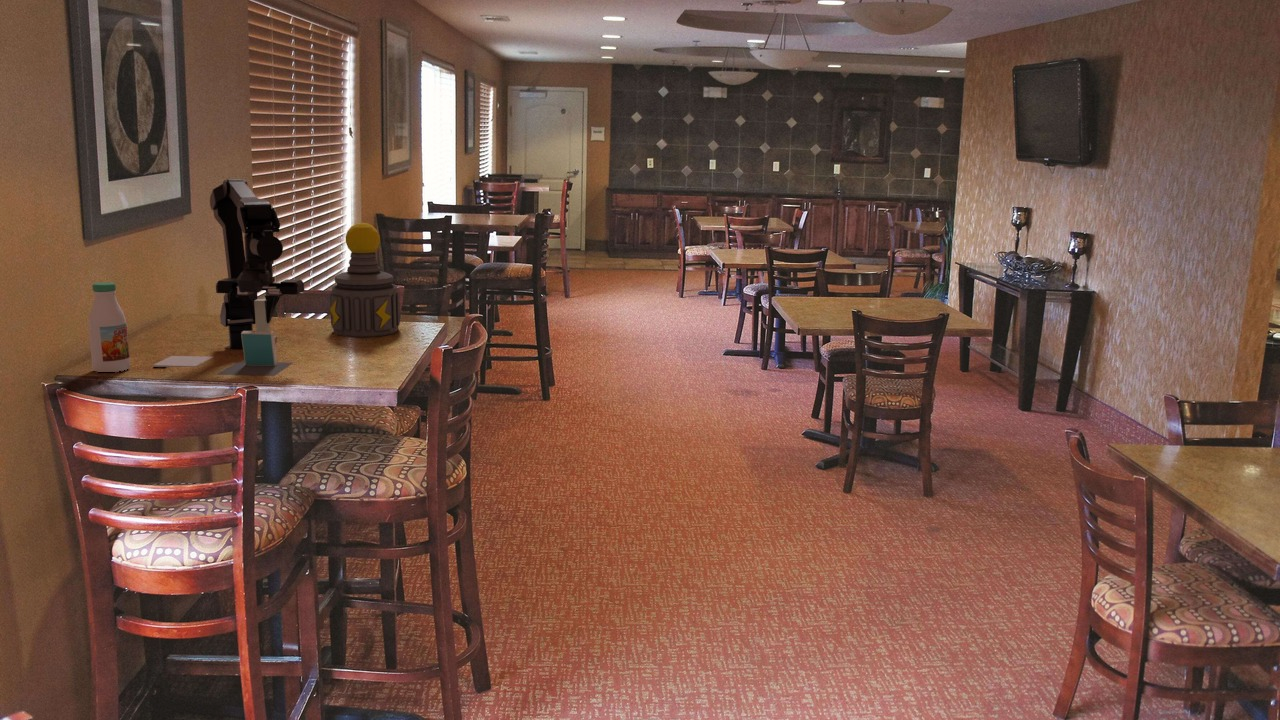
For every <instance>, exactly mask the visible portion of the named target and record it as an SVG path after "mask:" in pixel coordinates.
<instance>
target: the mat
mask: <svg viewBox="0 0 1280 720" xmlns="http://www.w3.org/2000/svg"><path fill="white" fill-rule="evenodd" d="M292 364H293V362H287V361H286V362H285V361H284V362H282V361H281V362H280V361H279V362H278V361H277V364H276V366H253V365H245V361H237V362H235V363H234V364H231V365H229V366H228V367H227V368H225V369H223V370H222V371H220V372H218V373H217V375H219V376H220V375H224V376H225V375H227V376H266V377H267V376H268V377H269V376H271V377H272V376H276V375H278V374H279V373H281V372H282V371H284V370H285V369H286V368H288V367H289V366H291V365H292Z"/></svg>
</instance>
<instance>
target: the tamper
mask: <svg viewBox="0 0 1280 720" xmlns="http://www.w3.org/2000/svg"><path fill="white" fill-rule="evenodd" d="M254 306H255V322H256V324H255V331H271V327H270V323H271V322H270V323H267V319H266V298H258V299H257V300H255V301H254ZM274 338H275V345H276V344H277V343H278V336H277V335H274Z"/></svg>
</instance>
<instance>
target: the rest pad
mask: <svg viewBox="0 0 1280 720" xmlns="http://www.w3.org/2000/svg"><path fill="white" fill-rule="evenodd" d="M213 358H214V356H198V355H197V356H196V355H194V356H191V355H189V356H188V355H187V356H186V355H171V356H168V357H166V358H164V359H162V360H161V361H158V362H156V363H154V364H153V365H152V368H153V367H168V368H169V367H193V368H194V367H199V366H200V365H202V364H204V363H205V362H207V361H210V360H211V359H213Z"/></svg>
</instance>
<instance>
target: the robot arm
mask: <svg viewBox="0 0 1280 720" xmlns="http://www.w3.org/2000/svg"><path fill="white" fill-rule="evenodd" d="M209 206H210V209H211V210H212V211H213V216H214V217H213V218H214V219H215V220H216V222H218V224H219V225H220V226H221V227H222V236H223V245H224V246H223V247H224V253H225V261H226V263H225V264H226V269H227V277H225V278H222V279H220V280H219V279H218V281H217V282H216V284H215V294H223V302H222V305H221V309H220V313H219V314H220V315H219V317H220V324H221V325H222V326H223V327H226V328H227V327H228V339H229V345H227V346H225V347H224V350H243V344H242V337H241V333H242V332H243V331H254V327H253V325H256V322H255V306H254V301H255V300H257V299H259V298H258V293H260V292H261V291H268V294H266V295H264V299H266V319H267V323H271V322H272V318H273V315H274V312H275V309H276V307H277V304H278V302H279V300H280V298H281V297H283V296H285V295H293V296H294V295H299V294H302V293H303V292H305V284H304V281H303V280H302V279H288V278H287V279H284V280H281V281H280V282H275V276H274V274H273V265H274V264H275V262H274V261H276V260H278V259H279V258H280V257H281V256H282V254H283V251H284V247H283V246H284V245H283V243H282V241H281V240H280V239H279V238H278V237H276V236H274V233H280V228H281V224H280V220H279V217H278V215H277V211H276V210H275V207H274V206H272V203H271V202H269V201H268V200H267V199H265V198H264V199H263V198H258V197H257V196H256V195H255V193H254V192H253V191H252V189H251V188H250V187H249V186H248V182H247V180H246V179H243V178H227V179H224V180H223V182H222V183H221V184H220V185H219V186H217V187H215V188H213V189H212V191H211V193H210V196H209ZM243 234H244V235H243Z"/></svg>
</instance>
